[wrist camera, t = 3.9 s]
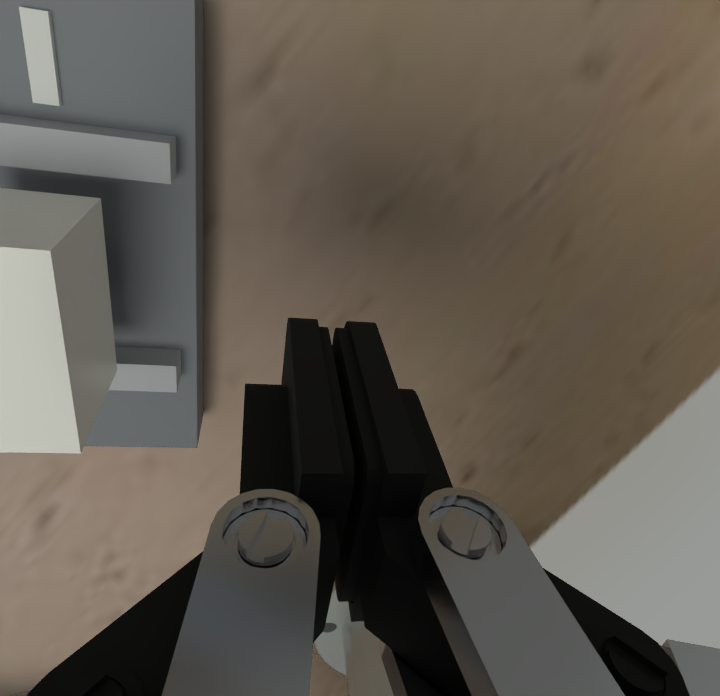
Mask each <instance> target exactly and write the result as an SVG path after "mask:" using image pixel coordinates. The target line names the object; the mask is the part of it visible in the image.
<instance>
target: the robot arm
mask: <svg viewBox="0 0 720 696" xmlns="http://www.w3.org/2000/svg"><path fill="white" fill-rule="evenodd" d="M313 643H314V644H315V648H316V650H317V652H318V653H319V655H320V656H321V658H322V659H323V660H324V661H325V662H326V663H327V664H328V665H330V666H331V667H332V668H333V669H335V670H336V671H338V672H340V673H342V674H344V675H346V676H347V684H348V693H349V696H720V649H717V648H712V647H706V646H701V645H695V644H690V643H684V642H678V641H673V640H666V641H665V643H664V644H663V645H662V646H660V645H659V644H658V643H657V642H656V641H655V640H653V639H652V638H650V637H649V636H648V635H647V634H645V633H644V632H643V631H642V630H640V629H638V628H637V627H635V626H634V625H632V624H631V623H629V622H627V621H626V620H624V619H623V618H621V617H620V616H618V615H616V614H615V613H613V612H612V611H610V610H608V609H607V608H605V607H604V606H602V605H601V604H599V603H597V602H596V601H594V600H593V599H591V598H589V597H588V596H586V595H585V594H583V593H582V592H580V591H578V590H577V589H575V588H574V587H572V586H570V585H569V584H567V583H566V582H564V581H563V580H561V579H559V578H558V577H556V576H555V575H553V574H552V573H550V572H548V571H547V570H545V569H544V568H542V566H541V565H540V563H539V562H538V560H537V559H536V557H535V556H534V554H533V552H532V551H531V549H530V548H529V546H528V545H527V543H526V542H525V540H524V539H523V537H522V535H521V534H520V532H519V531H518V529H517V528H516V526H515V525H514V523H513V522H512V520H511V518H510V517H509V516H508V515H507V514H506V512H505V511H504V510H503V509H502V508H501V507H500V506H499V505H498V504H496V503H495V502H494V501H492V500H491V499H490V498H488V497H486V496H484V495H482V494H480V493H478V492H476V491H472V490H468V489H464V488H453V486H452V484H451V481H450V478H449V476H448V473H447V471H446V468H445V466H444V463H443V460H442V458H441V455H440V453H439V450H438V447H437V445H436V442H435V440H434V437H433V434H432V432H431V429H430V427H429V424H428V421H427V419H426V416H425V414H424V411H423V409H422V406H421V403H420V401H419V398H418V396H417V394H416V392H415V391H414V390H412V389H398V386H397V383H396V380H395V377H394V374H393V372H392V369H391V366H390V363H389V360H388V357H387V354H386V351H385V348H384V345H383V342H382V340H381V337H380V334H379V331H378V328H377V325H376V323H370V322H353V321H347V322H346V324H345V327H344V328H336V329H335V332H334V337H333V344H332V345H331V340H330V335H329V330H328V328H327V327H319V325H318V320H317V319H302V318H288V323H287V332H286V342H285V353H284V364H283V374H282V385H268V384H245V398H244V419H243V439H242V460H241V481H240V495H238V496H236V497H234V498H233V499H231V500H229V501H228V502H227V503H226V504H225V505H224V506H223V507H222V508H221V509H220V510H219V511H218V512H217V514H216V516H215V518H214V520H213V522H212V524H211V527H210V530H209V534H208V537H207V540H206V544H205V547H204V551H203V552H202V553H200V554H199V555H198V556H197V557H195V558H194V559H193V560H191V561H190V562H189V563H188V564H186V565H185V566H184V567H183V568H181V569H180V570H179V571H177V572H176V573H175V574H174V575H172V576H171V577H170V578H169V579H167V580H166V581H165V582H164V583H162V584H161V585H160V586H158V587H157V588H156V589H155V590H153V591H152V592H151V593H150V594H148V595H147V596H146V597H144V598H143V599H142V600H141V601H139V602H138V603H137V604H136V605H134V606H133V607H132V608H130V609H129V610H128V611H127V612H125V613H124V614H123V615H122V616H120V617H119V618H118V619H117V620H115V621H114V622H113V623H111V624H110V625H109V626H108V627H106V628H105V629H104V630H103V631H101V632H100V633H99V634H97V635H96V636H95V637H94V638H92V639H91V640H90V641H89V642H87V643H86V644H85V645H84V646H82V647H81V648H80V649H78V650H77V651H76V652H75V653H73V654H72V655H71V656H70V657H68V658H67V659H66V660H64V661H63V662H62V663H61V664H59V665H58V666H57V667H56V668H54V669H53V670H52V671H51V672H49V673H48V674H47V675H46V676H45V677H44V678H43V679H42V680H41V681H40V682H39V683H38V684H37V685H36V686H35V687H34V688H33V689H32V690H29V691H26V692H22V693H19V694H15V695H12V696H309V690H310V676H311V662H312V648H313Z"/></svg>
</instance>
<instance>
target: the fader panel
mask: <svg viewBox="0 0 720 696" xmlns="http://www.w3.org/2000/svg"><path fill="white" fill-rule="evenodd" d="M203 65H204V0H0V188H6V189H16V190H26V191H36V192H45V193H55V194H65V195H75V196H85V197H94V198H101V205H102V216H103V226H104V236H105V247H106V257H107V268H108V278H109V289H110V299H111V310H112V320H113V331H114V341H115V352H116V362H117V372H116V374H115V377H114V379H113V381H112V383H111V386H110V388H109V390H108V393H107V395H106V397H105V399H104V402H103V404H102V406H101V408H100V411H99V413H98V415H97V418H96V420H95V422H94V424H93V427H92V429H91V431H90V433H89V436H88V438H87V440H86V443H85V445H84V446H119V447H179V448H197V446H198V440H199V434H200V429H201V423H202V417H203Z"/></svg>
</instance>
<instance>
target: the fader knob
mask: <svg viewBox="0 0 720 696" xmlns="http://www.w3.org/2000/svg"><path fill="white" fill-rule="evenodd" d="M116 372H117V362H116V352H115V341H114V331H113V320H112V310H111V299H110V289H109V278H108V268H107V257H106V247H105V236H104V226H103V216H102V205H101V198H94V197H85V196H75V195H65V194H55V193H45V192H36V191H26V190H16V189H6V188H0V452H24V453H81V452H82V449H83V447H84V445H85V443H86V440H87V438H88V436H89V433H90V431H91V429H92V427H93V424H94V422H95V420H96V418H97V415H98V413H99V411H100V408H101V406H102V404H103V402H104V399H105V397H106V395H107V393H108V390H109V388H110V386H111V383H112V381H113V379H114V377H115V374H116Z"/></svg>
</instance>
